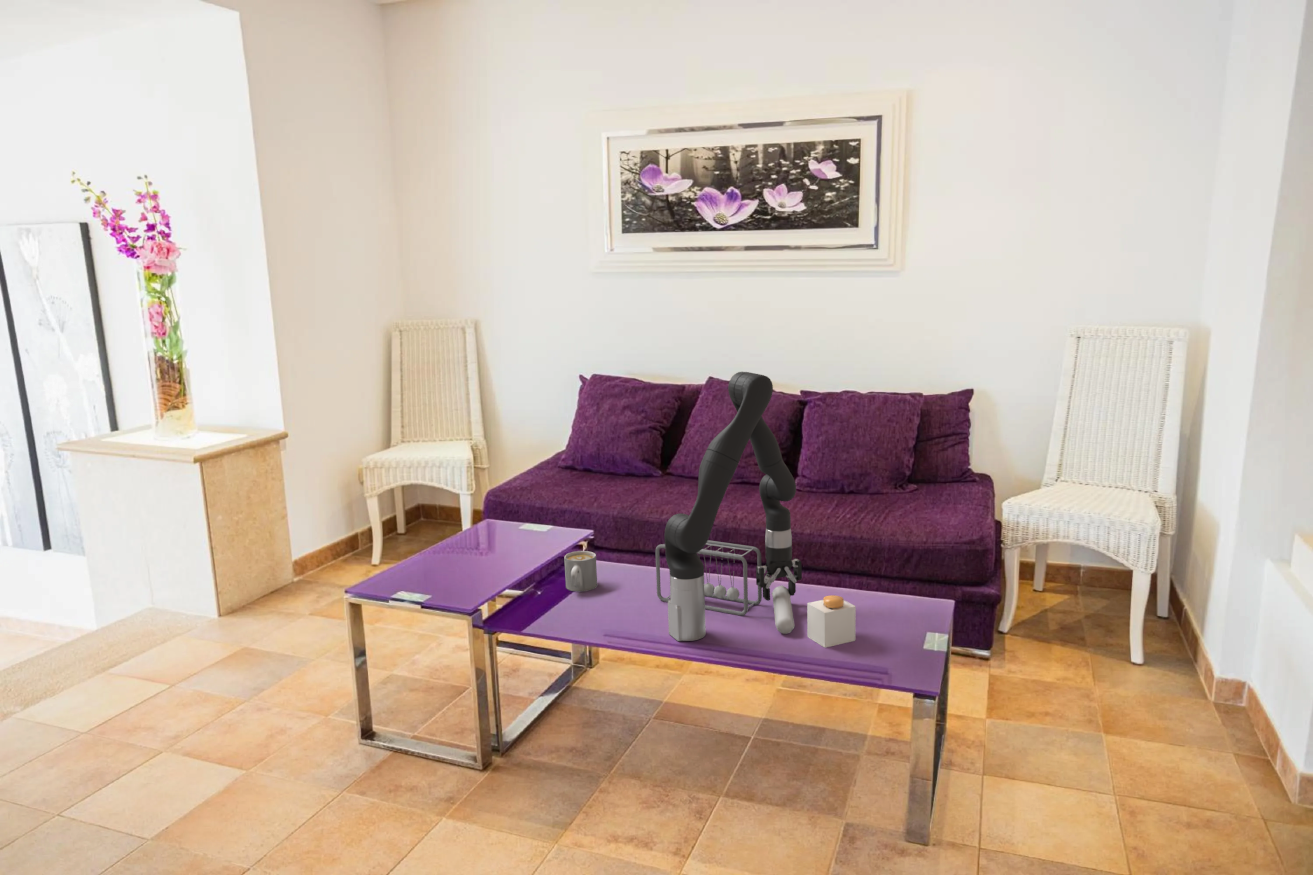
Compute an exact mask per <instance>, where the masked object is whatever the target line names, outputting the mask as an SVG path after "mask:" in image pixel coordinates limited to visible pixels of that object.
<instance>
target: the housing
mask: <svg viewBox="0 0 1313 875" xmlns="http://www.w3.org/2000/svg"><path fill="white" fill-rule="evenodd" d="M806 605H807V609H806V610H807V613H806V614H807V615H806V616H807V617H806V618H807V622H806V623H807V634H806V635H807V637H806V638H809V639H810V640H811V641H813V642H815V643H816V644H818V645H819V646H821V647H823V648H825V649H826V648H830V647H834V646H838V645H842V644H847V643H851V642H855V641H856V621H857V620H856V617H857V616H856V614H857V613H856V612H857V610H856V609H857V608H856V605H854V604H852V603H850V602H849V601H847V600H844V605H843V606H842V607H840V608H838V609H833V610H831V609H829V608H828V607H826V606H824V604H823V599H821V600H820V599H819V600H815V601H811V602H807V604H806Z"/></svg>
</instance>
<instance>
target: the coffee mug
mask: <svg viewBox="0 0 1313 875" xmlns="http://www.w3.org/2000/svg"><path fill="white" fill-rule="evenodd" d="M563 562H564V576H565V578H564V579H565V589H566V590H567V591H570V592H578V593H579V592H588V591H591V590H594V589H596V588H597V587H598V572H597V571H598V569H597V556H596V553H595V552H592V551H588V550H578V551H572V552H568V553H566V554H565V555H564V561H563Z"/></svg>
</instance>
